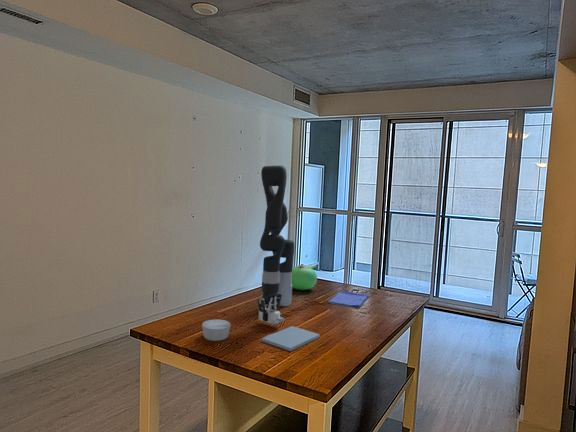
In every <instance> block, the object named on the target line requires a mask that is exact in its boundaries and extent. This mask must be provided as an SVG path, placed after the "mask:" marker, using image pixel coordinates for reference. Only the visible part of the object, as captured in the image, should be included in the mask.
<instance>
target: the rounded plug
mask: <svg viewBox="0 0 576 432" xmlns="http://www.w3.org/2000/svg"><path fill="white" fill-rule="evenodd" d="M265 310H266V307H265ZM258 320H259V321H262V322H264V323H268V324H271V325H278V324H280V322H283V321H285V318H284V317H283V316H281V311H279V310H277V309H276V310H273V309H271V308H269V310H268V321H263V312H260V311H259V310H258Z"/></svg>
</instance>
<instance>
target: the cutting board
mask: <svg viewBox="0 0 576 432" xmlns="http://www.w3.org/2000/svg"><path fill="white" fill-rule="evenodd" d="M320 336H321V334H319V333H316V332H313V331H310V330H307V329H302V328H300V327H296V326H293V325H291V326H289V327H286V328H284V329H281V330H279V331H277V332H274V333H272V334H268V335H266V336H264V337H262V338H261V342H263V343H265V344H269V345H272V346H274V347H277V348H280V349H283V350H286V351H289V352H292V351H293V350H296V349H298V348H300V347H302V346H304V345H307V344H309V343H310V342H313V341H314V340H315V341H316V340H318V339H319V338H320Z"/></svg>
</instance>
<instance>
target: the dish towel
mask: <svg viewBox="0 0 576 432" xmlns="http://www.w3.org/2000/svg"><path fill="white" fill-rule="evenodd" d="M368 299H369V294H368V293H356V292H350V291H344V290H343V291H339V292H338V293H337V294H336V295H335V296H333V297H332V298H331V299H330V300H328V303H329V304H330V305H335V306H343V307H349V308H356V309H360V308H361V307H362V306H363V305H364V304H365V303H366V302H367V301H368Z"/></svg>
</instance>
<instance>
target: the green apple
mask: <svg viewBox="0 0 576 432" xmlns="http://www.w3.org/2000/svg"><path fill="white" fill-rule="evenodd" d="M316 267H317V265H316V264H313V265H310V266H306V265H301V264H300V265H296V266H294V265H293V267H292V289H295V290H297V291H298V290H299V291H306V290H311V289H312V288H314V287H315V286H316V284H317V282H318V276H317V273H316V271H315V270H314V269H315V268H316Z"/></svg>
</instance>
